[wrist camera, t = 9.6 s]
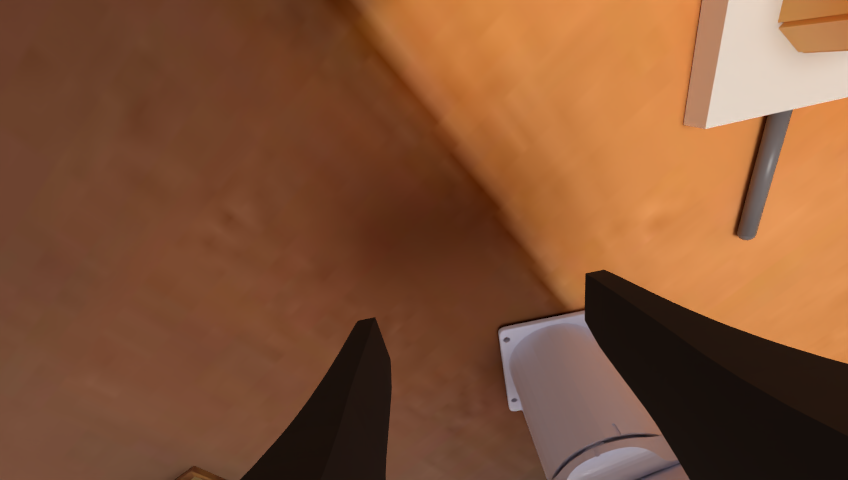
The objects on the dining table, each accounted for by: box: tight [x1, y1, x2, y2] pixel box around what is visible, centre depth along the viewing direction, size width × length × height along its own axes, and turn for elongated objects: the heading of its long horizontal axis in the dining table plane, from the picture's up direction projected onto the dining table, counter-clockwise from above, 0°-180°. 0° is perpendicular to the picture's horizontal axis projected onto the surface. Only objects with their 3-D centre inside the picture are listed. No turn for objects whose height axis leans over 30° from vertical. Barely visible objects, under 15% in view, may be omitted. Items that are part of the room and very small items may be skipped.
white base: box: [683, 0, 848, 240], centre depth 15 cm, size 18×10×6 cm, turn 12°
